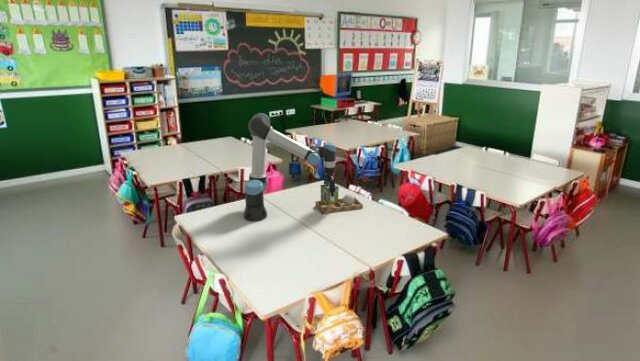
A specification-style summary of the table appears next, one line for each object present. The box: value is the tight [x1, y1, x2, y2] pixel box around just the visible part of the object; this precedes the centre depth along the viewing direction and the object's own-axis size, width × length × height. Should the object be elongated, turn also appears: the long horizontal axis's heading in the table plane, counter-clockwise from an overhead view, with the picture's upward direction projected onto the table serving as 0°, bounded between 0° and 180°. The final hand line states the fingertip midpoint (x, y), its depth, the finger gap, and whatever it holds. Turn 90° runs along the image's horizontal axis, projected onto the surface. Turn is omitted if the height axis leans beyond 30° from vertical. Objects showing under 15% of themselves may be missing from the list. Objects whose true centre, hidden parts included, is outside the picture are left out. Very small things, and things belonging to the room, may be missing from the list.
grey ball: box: [342, 193, 355, 206], centre depth 281 cm, size 8×8×8 cm
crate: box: [315, 196, 364, 215], centre depth 280 cm, size 29×15×4 cm, turn 107°
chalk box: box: [320, 181, 340, 205], centre depth 274 cm, size 9×9×15 cm
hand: (329, 197), depth 276 cm, fingers closed on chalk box, 10 cm apart
